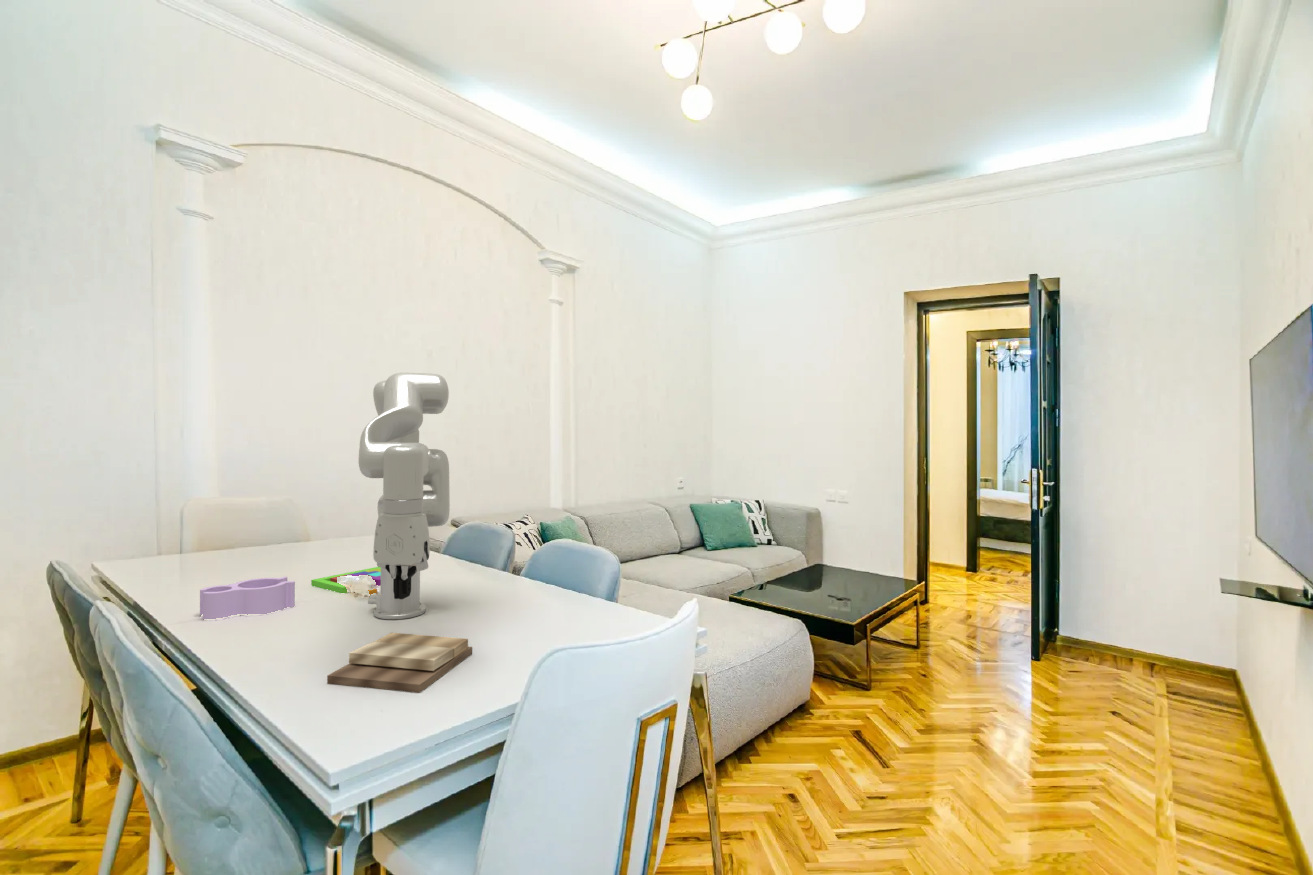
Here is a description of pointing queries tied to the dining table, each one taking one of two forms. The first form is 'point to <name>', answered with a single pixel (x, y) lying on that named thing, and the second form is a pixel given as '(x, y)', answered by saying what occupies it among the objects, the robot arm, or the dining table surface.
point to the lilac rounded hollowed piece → (247, 597)
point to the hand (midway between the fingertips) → (402, 597)
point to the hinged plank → (401, 655)
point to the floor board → (401, 676)
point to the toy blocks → (332, 583)
